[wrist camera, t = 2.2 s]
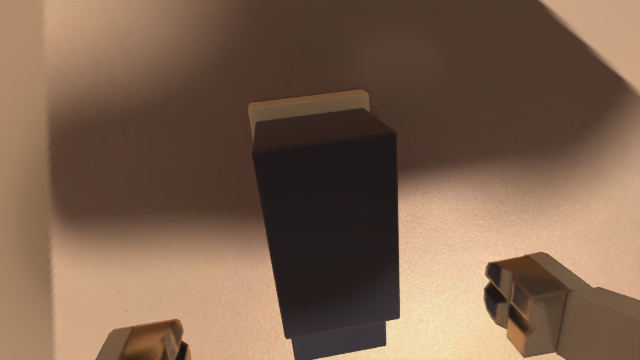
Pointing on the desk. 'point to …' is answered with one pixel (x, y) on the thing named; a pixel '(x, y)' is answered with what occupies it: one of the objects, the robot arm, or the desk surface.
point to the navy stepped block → (329, 219)
